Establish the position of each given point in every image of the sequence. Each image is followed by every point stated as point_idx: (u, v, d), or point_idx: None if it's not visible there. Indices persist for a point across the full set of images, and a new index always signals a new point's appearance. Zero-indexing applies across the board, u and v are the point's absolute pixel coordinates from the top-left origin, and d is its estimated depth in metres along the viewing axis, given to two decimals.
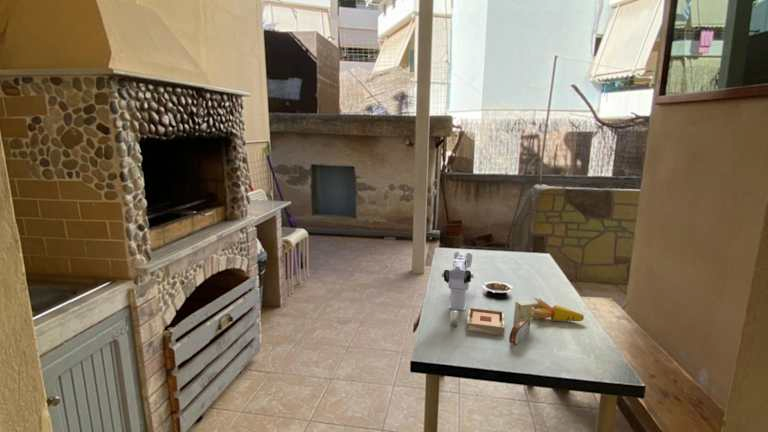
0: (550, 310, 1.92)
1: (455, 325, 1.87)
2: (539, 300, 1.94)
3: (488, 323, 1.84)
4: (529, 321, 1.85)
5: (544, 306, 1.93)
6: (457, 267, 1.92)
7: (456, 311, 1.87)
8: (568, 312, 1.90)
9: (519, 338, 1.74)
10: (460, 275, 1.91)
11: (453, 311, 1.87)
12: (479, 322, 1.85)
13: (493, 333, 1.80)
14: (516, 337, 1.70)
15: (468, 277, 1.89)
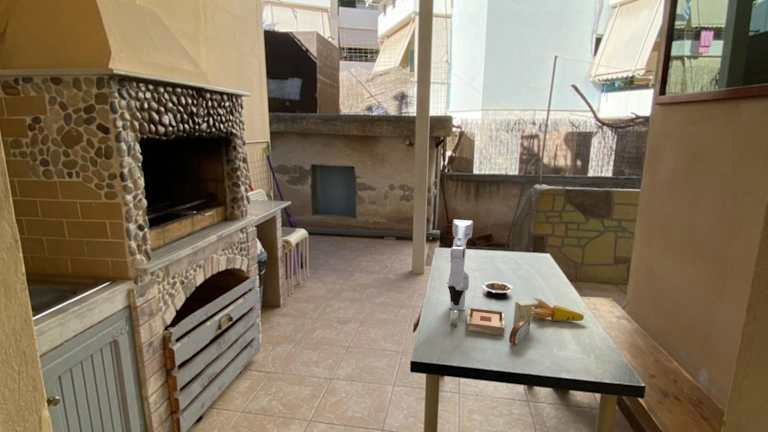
0: (550, 310, 1.92)
1: (455, 325, 1.87)
2: (539, 300, 1.94)
3: (488, 323, 1.84)
4: (529, 321, 1.85)
5: (544, 306, 1.93)
6: (448, 284, 1.86)
7: (456, 311, 1.87)
8: (568, 312, 1.90)
9: (519, 338, 1.74)
10: (455, 287, 1.84)
11: (453, 311, 1.87)
12: (479, 322, 1.85)
13: (493, 333, 1.80)
14: (516, 337, 1.70)
15: None
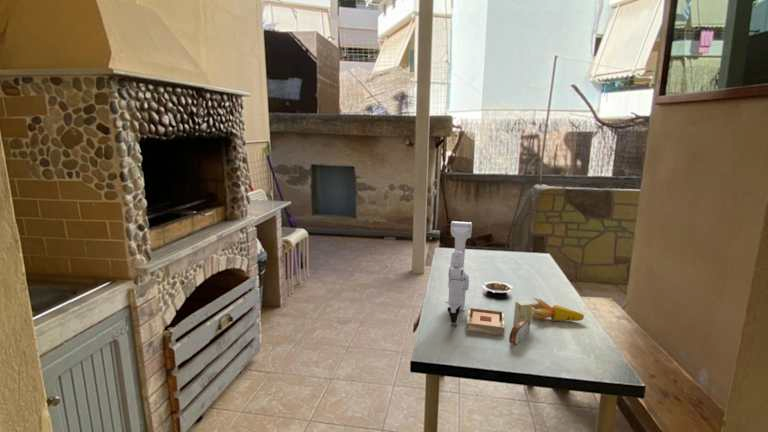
0: (550, 310, 1.92)
1: (455, 325, 1.87)
2: (539, 300, 1.94)
3: (488, 323, 1.84)
4: (529, 321, 1.85)
5: (545, 306, 1.93)
6: None
7: None
8: (568, 312, 1.90)
9: (519, 338, 1.74)
10: None
11: None
12: (479, 322, 1.85)
13: (493, 333, 1.80)
14: (516, 337, 1.70)
15: None
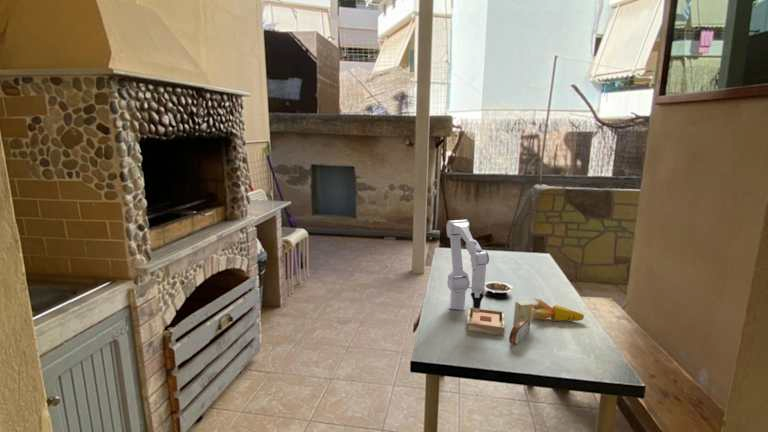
0: (551, 310, 1.92)
1: (478, 311, 1.85)
2: (539, 301, 1.94)
3: (488, 323, 1.84)
4: (529, 321, 1.85)
5: (545, 307, 1.93)
6: None
7: None
8: (568, 312, 1.91)
9: (519, 338, 1.74)
10: None
11: None
12: (479, 322, 1.85)
13: (493, 333, 1.80)
14: (516, 337, 1.70)
15: None
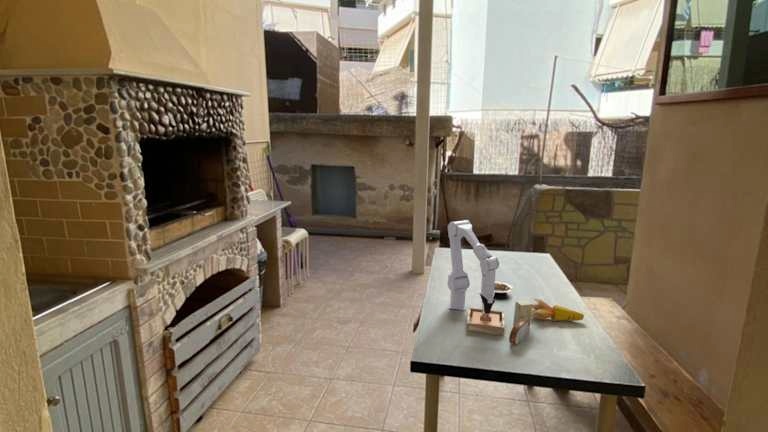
0: (551, 310, 1.92)
1: (488, 316, 1.86)
2: (539, 301, 1.94)
3: (488, 323, 1.84)
4: (529, 321, 1.85)
5: (545, 307, 1.93)
6: None
7: None
8: (568, 312, 1.91)
9: (519, 338, 1.74)
10: None
11: None
12: (479, 322, 1.85)
13: (493, 333, 1.80)
14: (516, 337, 1.70)
15: None
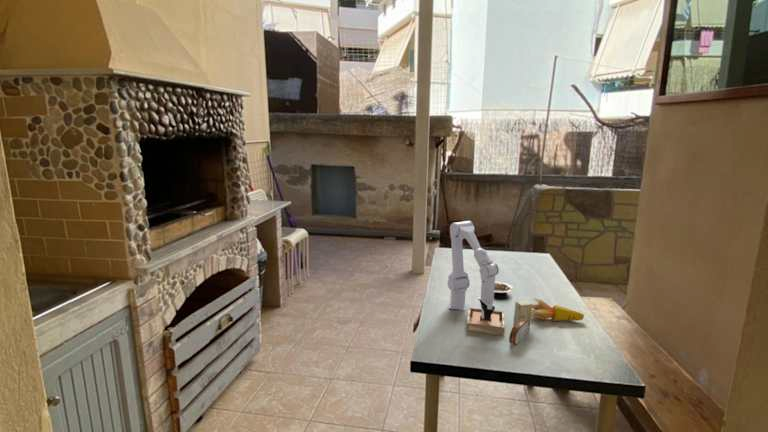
0: (551, 310, 1.92)
1: None
2: (540, 301, 1.93)
3: (488, 323, 1.84)
4: (529, 321, 1.85)
5: (545, 307, 1.93)
6: None
7: None
8: (568, 312, 1.91)
9: (519, 338, 1.74)
10: None
11: None
12: (479, 322, 1.85)
13: (493, 333, 1.80)
14: (516, 337, 1.70)
15: None
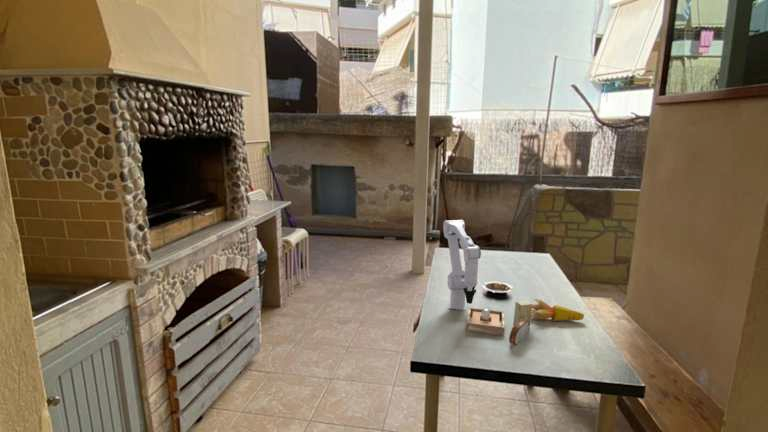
0: (551, 310, 1.92)
1: None
2: (540, 301, 1.93)
3: (488, 323, 1.84)
4: (529, 321, 1.85)
5: (545, 307, 1.93)
6: None
7: (488, 309, 1.87)
8: (569, 312, 1.91)
9: (519, 338, 1.74)
10: None
11: (485, 310, 1.87)
12: (479, 322, 1.85)
13: (493, 333, 1.80)
14: (516, 337, 1.70)
15: None
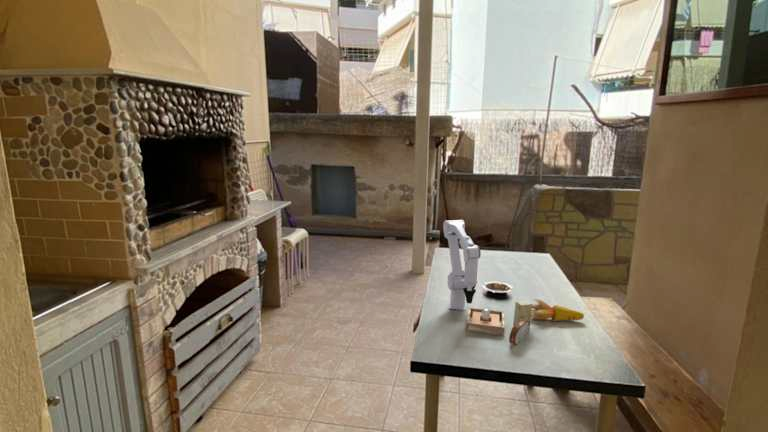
0: (551, 310, 1.92)
1: None
2: (540, 301, 1.93)
3: (488, 323, 1.84)
4: (529, 321, 1.85)
5: (545, 307, 1.93)
6: None
7: (488, 309, 1.87)
8: (569, 311, 1.91)
9: (519, 338, 1.74)
10: None
11: (485, 310, 1.87)
12: (479, 322, 1.85)
13: (493, 333, 1.80)
14: (516, 337, 1.70)
15: None
